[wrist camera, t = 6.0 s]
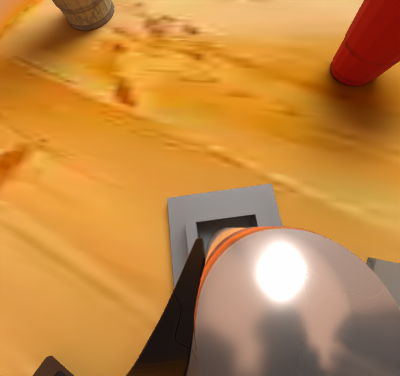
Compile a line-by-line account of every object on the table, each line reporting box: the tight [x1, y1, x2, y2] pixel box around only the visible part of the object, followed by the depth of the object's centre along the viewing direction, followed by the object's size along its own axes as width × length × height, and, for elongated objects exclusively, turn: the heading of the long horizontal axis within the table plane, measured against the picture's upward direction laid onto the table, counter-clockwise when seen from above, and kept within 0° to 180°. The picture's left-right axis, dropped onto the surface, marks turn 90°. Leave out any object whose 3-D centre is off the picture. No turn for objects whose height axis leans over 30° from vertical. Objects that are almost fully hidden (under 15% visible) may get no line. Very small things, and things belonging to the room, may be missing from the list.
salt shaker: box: [194, 226, 400, 376], centre depth 9 cm, size 4×4×13 cm
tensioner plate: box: [167, 184, 282, 288], centre depth 15 cm, size 16×12×4 cm
